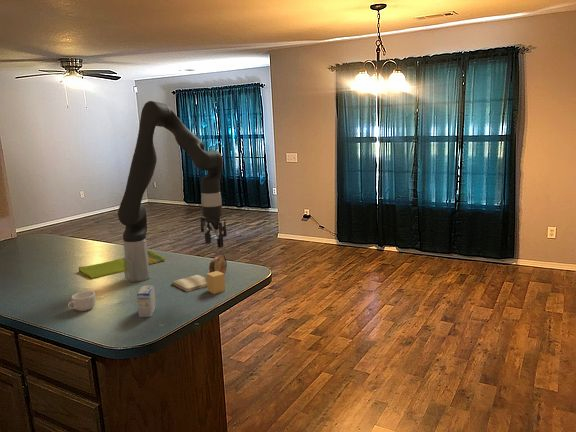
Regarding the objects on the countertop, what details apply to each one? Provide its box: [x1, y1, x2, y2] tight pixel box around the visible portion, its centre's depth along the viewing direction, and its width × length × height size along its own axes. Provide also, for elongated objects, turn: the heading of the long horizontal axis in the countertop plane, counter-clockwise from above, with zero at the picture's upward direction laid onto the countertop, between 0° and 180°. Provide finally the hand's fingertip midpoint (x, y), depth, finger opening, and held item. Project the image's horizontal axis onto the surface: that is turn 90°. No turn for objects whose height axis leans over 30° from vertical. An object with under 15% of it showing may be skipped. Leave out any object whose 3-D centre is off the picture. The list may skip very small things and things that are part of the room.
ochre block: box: [206, 271, 226, 295], centre depth 180 cm, size 5×5×7 cm
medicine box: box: [136, 285, 157, 318], centre depth 160 cm, size 8×4×9 cm, turn 5°
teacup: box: [67, 290, 96, 312], centre depth 164 cm, size 10×8×5 cm
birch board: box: [171, 274, 207, 293], centre depth 188 cm, size 12×12×1 cm
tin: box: [208, 254, 227, 275], centre depth 197 cm, size 15×3×8 cm, turn 168°
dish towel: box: [78, 249, 166, 280], centre depth 214 cm, size 15×36×3 cm, turn 135°
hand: (214, 245), depth 177 cm, fingers open, 8 cm apart
